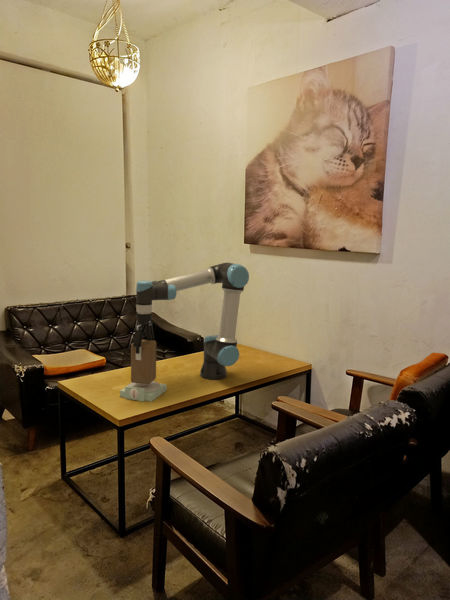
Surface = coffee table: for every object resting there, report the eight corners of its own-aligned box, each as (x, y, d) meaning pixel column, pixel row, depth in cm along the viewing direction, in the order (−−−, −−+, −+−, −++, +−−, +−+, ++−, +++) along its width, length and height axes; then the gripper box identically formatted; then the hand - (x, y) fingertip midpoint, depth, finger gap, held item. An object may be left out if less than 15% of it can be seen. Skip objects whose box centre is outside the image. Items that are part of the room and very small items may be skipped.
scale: (166, 390, 233) (166, 378, 232) (149, 402, 215) (149, 390, 214) (136, 385, 238) (136, 374, 237) (118, 397, 220) (118, 386, 219)
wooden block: (149, 385, 221) (149, 345, 218) (130, 383, 223) (130, 343, 219) (156, 378, 230) (157, 340, 227) (138, 376, 232) (138, 338, 229)
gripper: (148, 308, 233) (147, 350, 236) (125, 316, 211) (125, 362, 215) (161, 309, 231) (160, 352, 234) (139, 317, 209) (139, 364, 213)
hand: (143, 356), depth 225 cm, fingers closed on wooden block, 10 cm apart
